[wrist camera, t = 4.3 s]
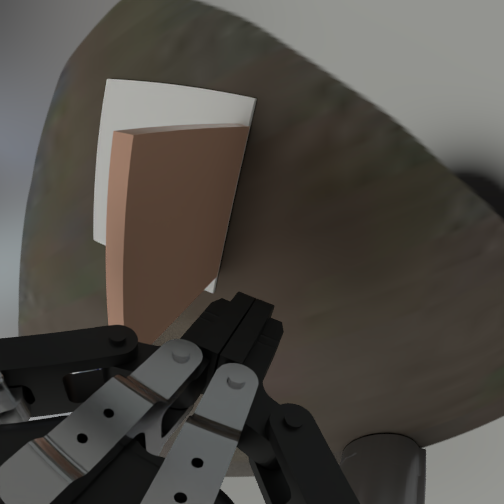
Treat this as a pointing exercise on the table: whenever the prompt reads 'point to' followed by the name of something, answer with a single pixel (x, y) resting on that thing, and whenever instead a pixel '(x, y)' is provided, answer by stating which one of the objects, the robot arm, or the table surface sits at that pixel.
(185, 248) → the terracotta tile
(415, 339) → the table surface
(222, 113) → the mat
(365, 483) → the robot arm
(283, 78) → the table surface
